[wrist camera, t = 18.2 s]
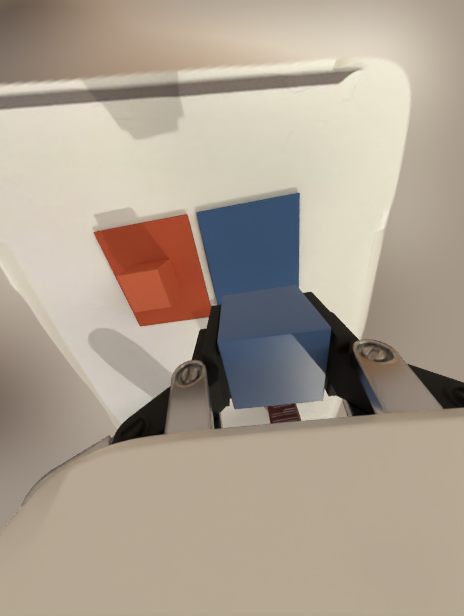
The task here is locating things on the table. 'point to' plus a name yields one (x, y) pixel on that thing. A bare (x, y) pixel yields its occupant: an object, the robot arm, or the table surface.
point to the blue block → (273, 347)
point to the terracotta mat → (158, 246)
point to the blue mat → (252, 245)
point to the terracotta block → (150, 285)
